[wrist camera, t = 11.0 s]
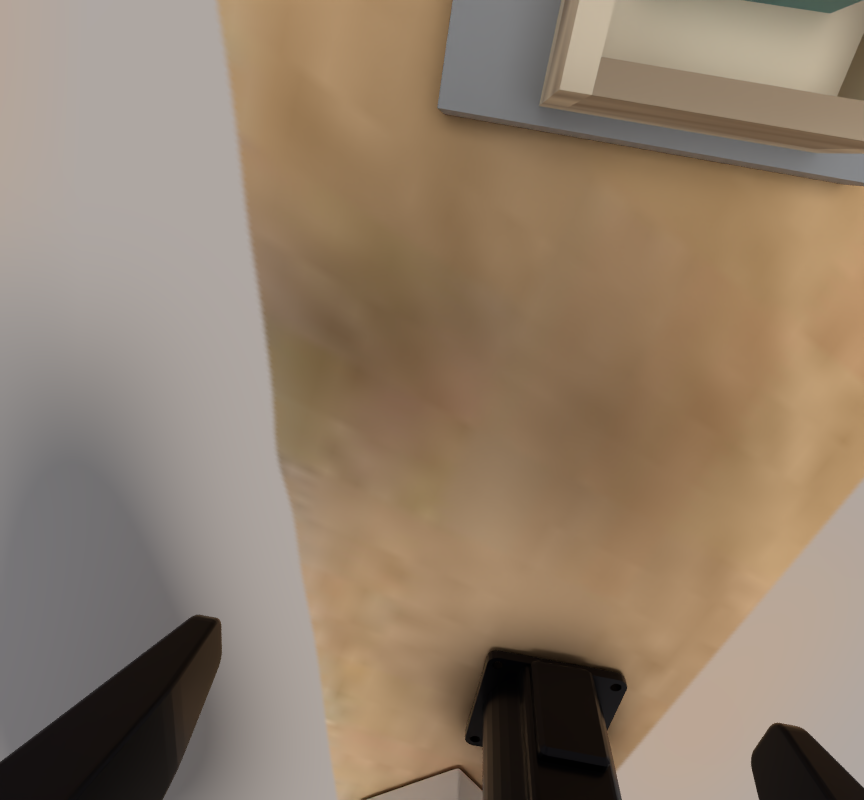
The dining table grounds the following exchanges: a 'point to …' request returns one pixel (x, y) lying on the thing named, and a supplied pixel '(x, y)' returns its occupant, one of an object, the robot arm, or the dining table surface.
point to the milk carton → (437, 789)
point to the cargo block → (811, 4)
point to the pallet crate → (714, 69)
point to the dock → (519, 106)
